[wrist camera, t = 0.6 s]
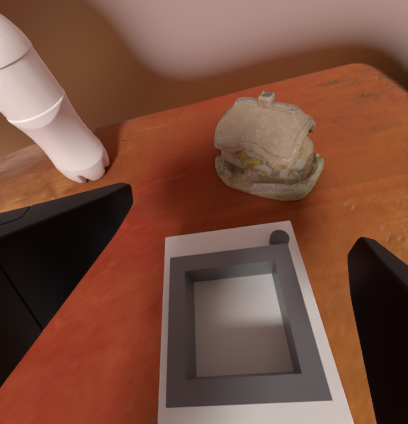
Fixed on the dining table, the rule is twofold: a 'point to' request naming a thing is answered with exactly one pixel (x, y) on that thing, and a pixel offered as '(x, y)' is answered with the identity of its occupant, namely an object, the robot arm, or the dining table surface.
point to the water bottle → (45, 109)
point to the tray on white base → (244, 333)
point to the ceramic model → (267, 149)
